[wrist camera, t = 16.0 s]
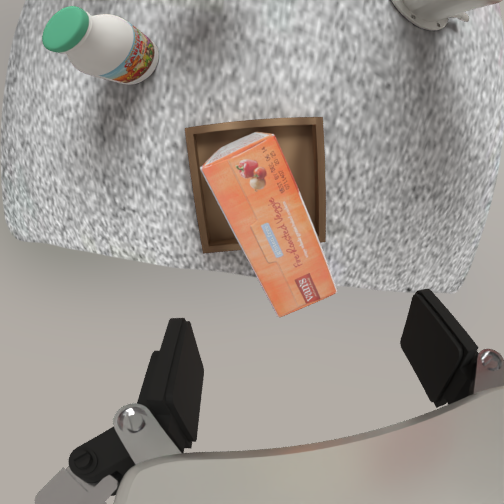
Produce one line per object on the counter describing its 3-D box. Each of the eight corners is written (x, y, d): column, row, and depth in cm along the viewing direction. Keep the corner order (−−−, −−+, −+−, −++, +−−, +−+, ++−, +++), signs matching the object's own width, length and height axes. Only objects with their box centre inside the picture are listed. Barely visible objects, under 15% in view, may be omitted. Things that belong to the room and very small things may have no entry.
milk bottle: (114, 91, 33) (29, 81, 15) (110, 48, 30) (30, 15, 12) (163, 76, 33) (98, 44, 15) (157, 32, 30) (98, -23, 12)
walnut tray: (316, 117, 36) (322, 117, 34) (320, 234, 44) (325, 242, 41) (188, 127, 36) (184, 128, 34) (205, 245, 44) (203, 253, 41)
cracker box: (298, 216, 42) (341, 296, 23) (260, 232, 43) (275, 323, 24) (259, 128, 36) (277, 131, 17) (218, 146, 37) (194, 170, 18)
